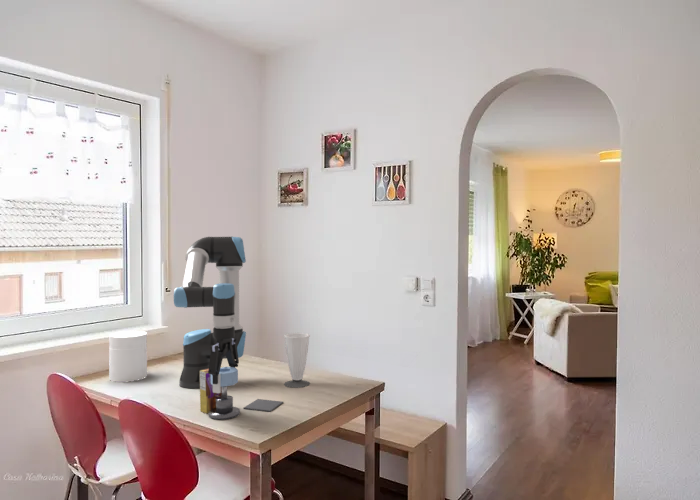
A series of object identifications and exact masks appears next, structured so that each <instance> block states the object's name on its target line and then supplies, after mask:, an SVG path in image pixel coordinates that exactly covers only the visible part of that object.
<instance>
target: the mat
mask: <svg viewBox="0 0 700 500" xmlns="http://www.w3.org/2000/svg"><path fill="white" fill-rule="evenodd" d="M282 404H284V401H281V400H271V399H263V398H262V399H261V398H257V399H255V400H253V401H252V402H250V403H249V404H247V405H246V406H244V407H243V410H249V411H258V412H259V411H260V412H267V413H271V412H272V411H273V410H275V409H277V408H278V407H279V406H281V405H282Z"/></svg>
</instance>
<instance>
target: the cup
mask: <svg viewBox="0 0 700 500" xmlns="http://www.w3.org/2000/svg"><path fill="white" fill-rule="evenodd" d="M310 337H311V334H309V333H306V332H291V333H286V334H284V335H283V338H284V345H285V353H286V359H287V364H288V370H289V374H290V377H291V380H287V381H285V382H284V383H283V385H284V386H285V387H287V388H291V389H292V388H295V389H299V388H305V386H306V387H308V386H310V385H311V382H310V381H308V380H305V379H303V377H304V374H305V369H306V365H307V358H308V351H309V342H310Z"/></svg>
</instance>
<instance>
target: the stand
mask: <svg viewBox="0 0 700 500" xmlns="http://www.w3.org/2000/svg"><path fill="white" fill-rule="evenodd" d="M240 414H241V409H240V408H239V407H236V406H234V397H233V396H232V395H228V386H223V387H221V396H219V397H217V398H216V408H214V409H211V410H210V411H209V413H208V418H209V419H212V420H215V421H225V420H231V419H235V418H237V417H238V416H240Z"/></svg>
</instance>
